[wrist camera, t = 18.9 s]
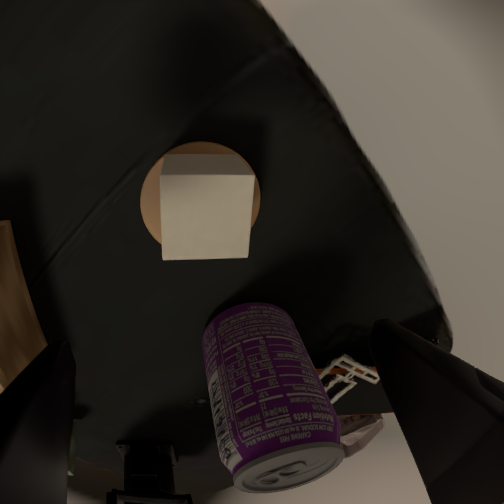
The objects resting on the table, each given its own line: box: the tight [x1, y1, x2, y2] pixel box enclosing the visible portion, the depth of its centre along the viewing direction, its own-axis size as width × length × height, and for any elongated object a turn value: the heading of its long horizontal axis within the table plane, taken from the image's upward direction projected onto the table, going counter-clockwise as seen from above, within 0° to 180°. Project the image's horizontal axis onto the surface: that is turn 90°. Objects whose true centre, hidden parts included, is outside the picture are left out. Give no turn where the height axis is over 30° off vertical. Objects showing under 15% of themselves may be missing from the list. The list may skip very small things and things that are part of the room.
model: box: [318, 354, 380, 404], centre depth 27 cm, size 11×12×1 cm
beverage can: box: [202, 302, 345, 493], centre depth 19 cm, size 7×7×12 cm
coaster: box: [140, 141, 260, 244], centre depth 19 cm, size 7×7×1 cm
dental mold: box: [337, 414, 385, 458], centre depth 31 cm, size 8×7×5 cm
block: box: [160, 154, 255, 260], centre depth 16 cm, size 4×4×4 cm
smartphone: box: [315, 367, 394, 416], centre depth 27 cm, size 8×17×1 cm, turn 97°
